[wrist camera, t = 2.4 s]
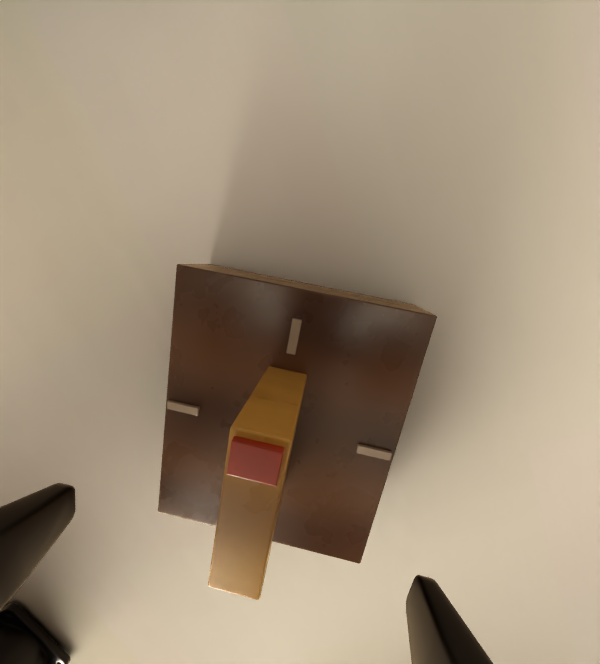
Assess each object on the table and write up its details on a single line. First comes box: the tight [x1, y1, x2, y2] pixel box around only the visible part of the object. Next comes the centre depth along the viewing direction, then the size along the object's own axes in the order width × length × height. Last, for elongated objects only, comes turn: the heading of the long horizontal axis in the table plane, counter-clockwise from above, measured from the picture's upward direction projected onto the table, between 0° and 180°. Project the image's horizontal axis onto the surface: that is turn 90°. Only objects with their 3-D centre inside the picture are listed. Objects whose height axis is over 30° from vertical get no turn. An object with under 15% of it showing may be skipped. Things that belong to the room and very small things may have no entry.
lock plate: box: [158, 264, 437, 563], centre depth 14 cm, size 12×10×3 cm
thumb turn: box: [208, 366, 307, 600], centre depth 10 cm, size 6×2×5 cm, turn 169°
